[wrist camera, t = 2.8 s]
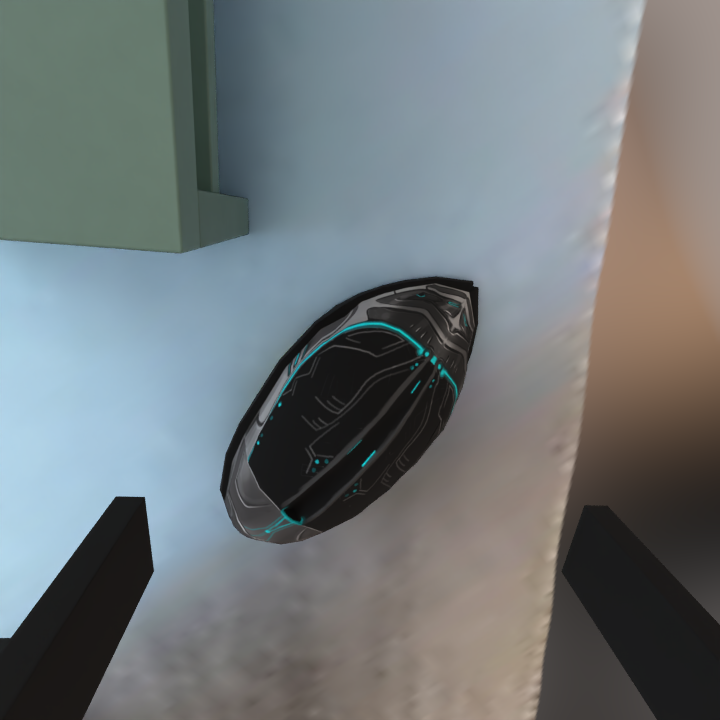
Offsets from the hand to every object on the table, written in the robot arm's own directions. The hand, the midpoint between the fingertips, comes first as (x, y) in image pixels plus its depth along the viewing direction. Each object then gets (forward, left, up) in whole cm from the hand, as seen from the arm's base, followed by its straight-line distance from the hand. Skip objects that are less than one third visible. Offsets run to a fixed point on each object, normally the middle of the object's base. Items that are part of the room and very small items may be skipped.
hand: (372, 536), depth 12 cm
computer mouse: (0, 0, -10) cm, 10 cm away
